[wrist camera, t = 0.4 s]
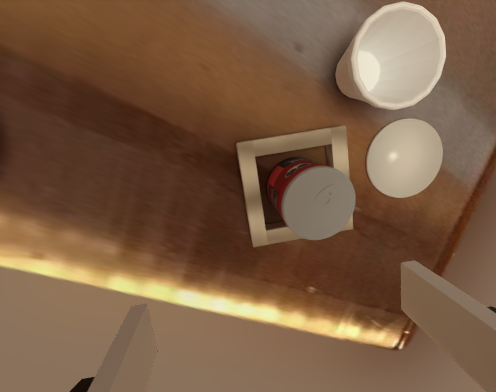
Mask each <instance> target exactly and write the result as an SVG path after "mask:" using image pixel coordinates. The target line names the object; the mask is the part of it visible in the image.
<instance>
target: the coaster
mask: <svg viewBox="0 0 496 392" xmlns="http://www.w3.org/2000/svg"><path fill="white" fill-rule="evenodd" d="M442 156H443V149H442V143H441V140H440V137H439V135H438V134H437V132H436V131H435V129H434V128H433V127H432V126H430V125H429V124H428V123H426V122H424V121H421V120H418V119H400V120H396V121H394V122H391V123H389V124H387V125H386V126H385V127H383V128H382V129H381V130H380V131H379V132H378V133H377V134H376V135H375V136H374V138H373V139H372V141H371V143H370V145H369V147H368V150H367V154H366V164H365V165H366V172H367V175H368V178H369V180H370V182H371V183H372V185H373V186H374V187H375V188H376V189H377V190H378V191H380V192H381V193H383V194H385V195H388V196H391V197H396V198H403V197H409V196H412V195H415V194H417V193H419V192H421V191H422V190H424V189H425V188H426V187H427V186H428V185H429V184H430V183H431V182H432V181H433V180H434V178H435V177H436V175H437V173H438V171H439V169H440V166H441V163H442Z"/></svg>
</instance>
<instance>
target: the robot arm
mask: <svg viewBox="0 0 496 392" xmlns="http://www.w3.org/2000/svg"><path fill="white" fill-rule="evenodd" d="M401 309H402V310H403V311H404V312H405V313H406V314H407V315H408V316H409V317H410V318H411V319H412V320H413V321H414V322H415V323H416V324H417V325H418V326H419V327H420V328H421V329H422V330H423V331H424V332H425V333H426V334H427V335H428V336H429V337H431V339H432V340H434V342H435V343H437V344H438V345H439V346H440V347H441V348H442V349H443V350H444V351H445V352H446V353H447V354H448V355H449V356H450V357H451V358H452V359H453V360H454V361H455V362H456V363H457V364H458V365H459V366H460V367H461V368H462V369H463V370H464V371H465V372H467V374H468V375H469V376H470V377H471V378H473V379H474V380H475V381H476V382H477V383H478V384H479V385H480V386H481V387H482V388H483V389H484V390H485V391H486V392H496V308H494V307H485V306H484V305H482V304H481V303H479V302H478V301H476V300H475V299H473V298H472V297H470V296H468V295H467V294H465V293H464V292H462V291H461V290H459V289H458V288H456V287H454V286H453V285H452V284H450V283H449V282H447V281H446V280H444V279H443V278H441V277H439V276H438V275H436V274H435V273H433V272H432V271H430V270H429V269H427V268H426V267H424V266H423V265H421V264H420V263H418V262H417V261H409V262H402V263H401ZM157 352H158V350H157V346H156V341H155V337H154V333H153V328H152V324H151V319H150V315H149V310H148V306H147V304H142V305H137V306H131V308H130V310H129V312H128V314H127V316H126V318H125V320H124V321H123V324H122V325H121V327H120V329H119V331H118V333H117V335H116V337H115V339H114V341H113V343H112V345H111V347H110V349H109V351H108V353H107V355H106V356H105V358H104V360H103V362H102V364H101V366H100V368H99V370H98V372H97V374H96V376H95V377H91V378H85V379H82V380H81V381H80V382H79V383H78V384H77V385H76V386H75V387H74V388H73V389H72V390H71V391H70V392H146V390H147V387H148V383H149V380H150V376H151V373H152V369H153V366H154V362H155V359H156V355H157Z"/></svg>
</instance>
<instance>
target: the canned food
mask: <svg viewBox="0 0 496 392" xmlns="http://www.w3.org/2000/svg"><path fill="white" fill-rule="evenodd" d="M267 194H268V197H269V200H270V202H271V203H272V205H273V206H274V208H275V209H276V211H277V212H278V213H279V215H280V216H281V218H282V219H283V221H284V222H285V224H286V225H287V226H288V228H289V229H290V230H291V231H293V232H294V233H295V234H296V235H298V236H300V237H302V238H305V239H308V240H321V239H325V238H328V237H330V236H333V235H335V234H336V233H337V232H339V231H340V230H341V229H342V228H343V227H344V226H345V225H346V224H347V223H348V221H349V220H350V218H351V216H352V214H353V211H354V207H355V200H356V197H355V191H354V188H353V185H352V183H351V181H350V180H349V179H348V177H347V176H346V175H345V174H343V173H342V172H340V171H339V170H337V169H335V168H332V167H330V166H327V165H324V164H321V163H318V162H315V161H312V160H309V159H306V158H301V157H293V158H289V159H286V160H284V161H282V162H281V163H280V164H278V165H277V166H276V167H275V168H274V169H273V171H272V172H271V174H270V176H269V179H268V183H267Z"/></svg>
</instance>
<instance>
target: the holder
mask: <svg viewBox="0 0 496 392" xmlns="http://www.w3.org/2000/svg"><path fill="white" fill-rule="evenodd" d="M322 145H325V149H326V160H327V166H330V167H332V168H335V169H337V170H339V171H340V172H342V173H343V174H345V175H346V176H347V177H348V179H349V180H350V176H349V162H348V148H347V134H346V126H333V127H327V128H321V129H315V130H309V131H302V132H296V133H290V134H284V135H278V136H272V137H265V138H259V139H253V140H247V141H241V142H236V148H237V155H238V161H239V167H240V173H241V179H242V185H243V192H244V198H245V204H246V210H247V216H248V222H249V229H250V235H251V241H252V244H253V247H258V246H263V245H268V244H274V243H279V242H285V241H290V240H295V239H301V238H302V237H300V236H298V235H296V234H295V233H294V232H293V231H291V230H290V229H289V228H288V226H287V225H286V224H285V222H284V221H282V222H276V223H271V224H265V221H264V215H263V208H262V201H261V194H260V188H259V181H258V174H257V167H256V161H255V157H256V156H262V155H268V154H274V153H280V152H286V151H292V150H298V149H304V148H310V147H316V146H322ZM350 229H353V218H352V216H351V218H350V220H349V221H348V223H347V224H346V225H345V226H344V227H343V228H342V229H341V230H340V231H344V230H350Z"/></svg>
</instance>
